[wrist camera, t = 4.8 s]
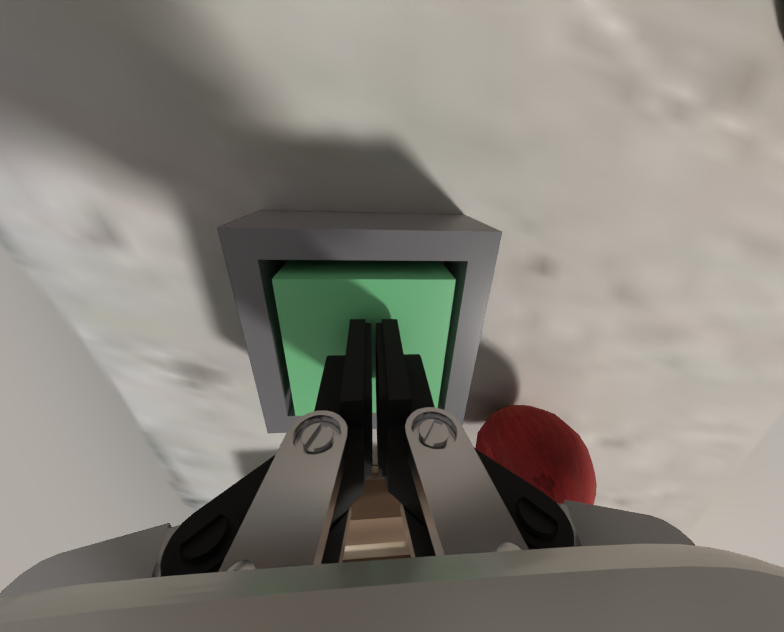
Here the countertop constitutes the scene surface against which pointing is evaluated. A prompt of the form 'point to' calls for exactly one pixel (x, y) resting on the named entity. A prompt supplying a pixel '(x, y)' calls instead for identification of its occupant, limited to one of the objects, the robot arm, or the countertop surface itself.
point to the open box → (376, 525)
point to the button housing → (356, 242)
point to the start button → (360, 315)
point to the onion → (540, 452)
